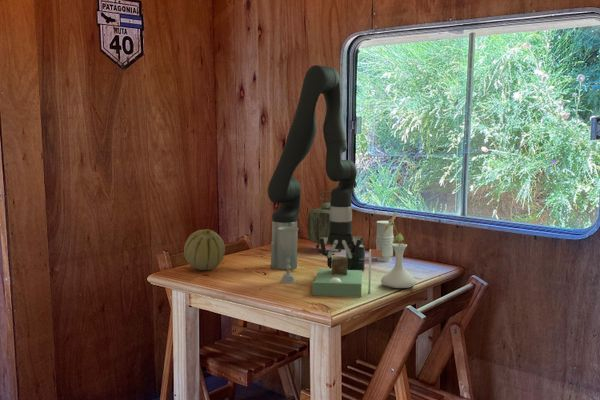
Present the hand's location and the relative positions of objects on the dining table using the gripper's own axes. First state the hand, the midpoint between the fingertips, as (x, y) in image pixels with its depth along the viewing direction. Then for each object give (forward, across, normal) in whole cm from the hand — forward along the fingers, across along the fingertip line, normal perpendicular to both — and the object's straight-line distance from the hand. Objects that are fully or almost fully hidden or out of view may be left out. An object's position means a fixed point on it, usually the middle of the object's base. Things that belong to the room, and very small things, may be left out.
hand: (339, 268), depth 206 cm
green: (+4, 0, -8) cm, 9 cm away
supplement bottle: (+4, +5, +15) cm, 16 cm away
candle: (+4, +16, +33) cm, 37 cm away
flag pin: (+4, +12, -16) cm, 20 cm away
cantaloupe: (+4, -49, +7) cm, 50 cm away
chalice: (+4, -17, -5) cm, 18 cm away
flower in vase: (+4, +19, -7) cm, 21 cm away
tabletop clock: (+4, -8, +46) cm, 47 cm away
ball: (+2, -1, -15) cm, 15 cm away
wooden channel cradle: (+2, 0, 0) cm, 2 cm away
